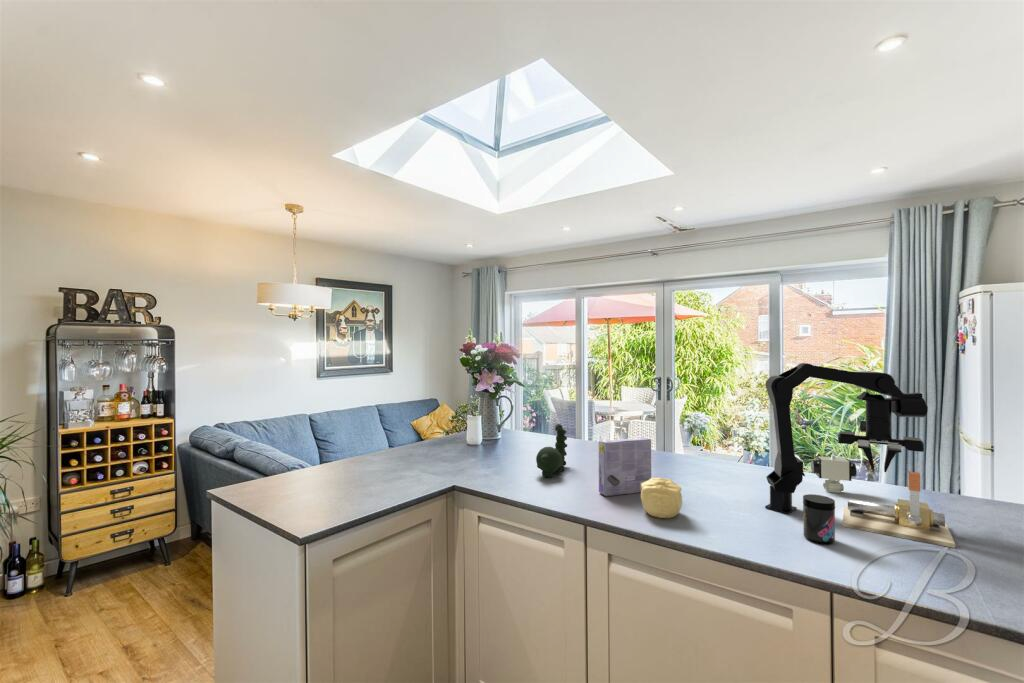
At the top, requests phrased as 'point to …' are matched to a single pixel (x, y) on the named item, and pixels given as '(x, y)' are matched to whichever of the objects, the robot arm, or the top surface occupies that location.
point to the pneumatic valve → (833, 471)
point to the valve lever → (914, 498)
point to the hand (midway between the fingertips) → (879, 471)
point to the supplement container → (819, 519)
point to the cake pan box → (624, 465)
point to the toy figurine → (553, 455)
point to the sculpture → (661, 497)
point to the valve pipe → (898, 513)
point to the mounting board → (897, 529)
